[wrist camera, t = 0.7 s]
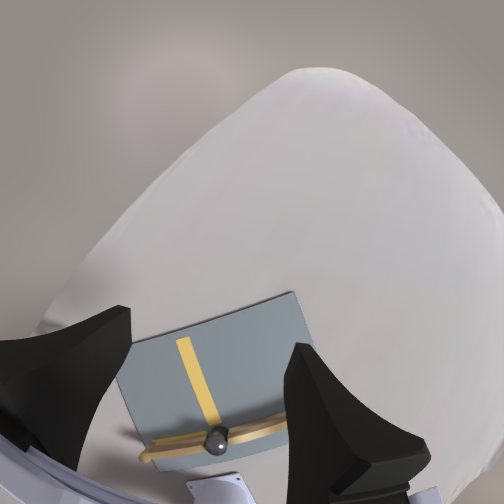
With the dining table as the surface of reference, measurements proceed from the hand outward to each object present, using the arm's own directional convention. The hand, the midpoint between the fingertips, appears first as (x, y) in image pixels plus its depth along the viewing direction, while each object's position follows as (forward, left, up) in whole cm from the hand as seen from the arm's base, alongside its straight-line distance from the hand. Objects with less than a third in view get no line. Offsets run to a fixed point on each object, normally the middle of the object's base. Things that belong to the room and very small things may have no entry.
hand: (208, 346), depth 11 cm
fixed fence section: (-12, +12, -22) cm, 28 cm away
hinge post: (-12, +6, -23) cm, 27 cm away
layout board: (-7, +4, -23) cm, 24 cm away
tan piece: (-12, -1, -22) cm, 25 cm away
